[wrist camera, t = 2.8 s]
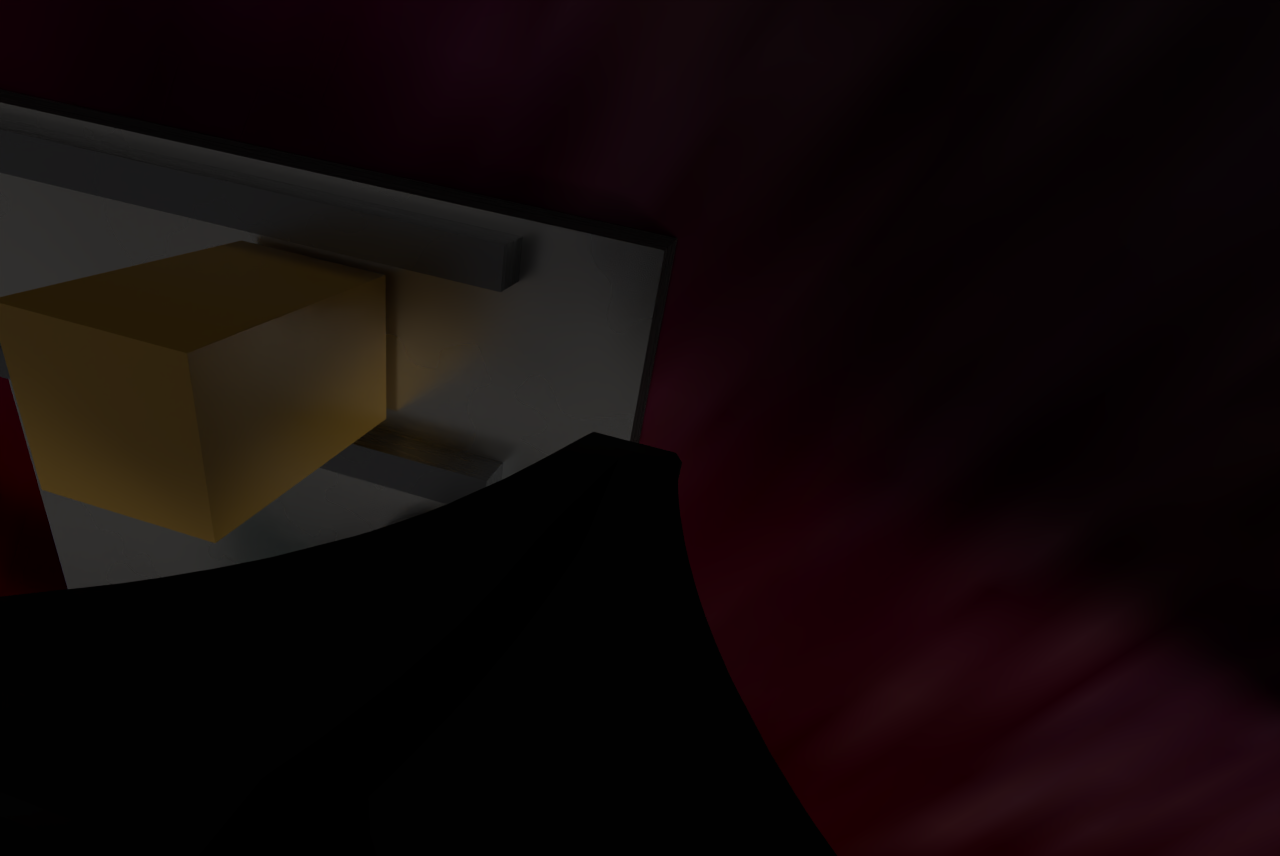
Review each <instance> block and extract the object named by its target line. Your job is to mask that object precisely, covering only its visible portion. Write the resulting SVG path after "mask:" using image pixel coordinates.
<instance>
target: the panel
mask: <svg viewBox="0 0 1280 856" xmlns="http://www.w3.org/2000/svg"><path fill="white" fill-rule="evenodd" d="M677 239H678V238H675V237H670V236H665V235H661V234H656V233H652V232H647V231H643V230H638V229H634V228H629V227H625V226H620V225H615V224H611V223H606V222H602V221H597V220H593V219H588V218H584V217H579V216H574V215H570V214H565V213H561V212H556V211H552V210H547V209H543V208H538V207H534V206H529V205H524V204H520V203H515V202H511V201H506V200H502V199H497V198H493V197H488V196H483V195H479V194H474V193H470V192H465V191H461V190H456V189H452V188H447V187H443V186H438V185H433V184H429V183H424V182H420V181H415V180H411V179H406V178H402V177H397V176H392V175H388V174H383V173H379V172H374V171H370V170H365V169H361V168H356V167H352V166H347V165H342V164H338V163H333V162H329V161H324V160H320V159H315V158H311V157H306V156H301V155H297V154H292V153H288V152H283V151H279V150H274V149H270V148H265V147H261V146H256V145H251V144H247V143H242V142H238V141H233V140H229V139H224V138H220V137H215V136H210V135H206V134H201V133H197V132H192V131H188V130H183V129H179V128H174V127H170V126H165V125H160V124H156V123H151V122H147V121H142V120H138V119H133V118H129V117H124V116H120V115H115V114H110V113H106V112H101V111H97V110H92V109H88V108H83V107H79V106H74V105H69V104H65V103H60V102H56V101H51V100H47V99H42V98H38V97H33V96H29V95H24V94H19V93H15V92H10V91H6V90H1V89H0V297H3V296H7V295H11V294H15V293H20V292H24V291H28V290H32V289H37V288H41V287H45V286H49V285H54V284H58V283H62V282H66V281H71V280H75V279H79V278H83V277H88V276H92V275H96V274H101V273H105V272H109V271H113V270H118V269H122V268H126V267H130V266H135V265H139V264H143V263H147V262H152V261H156V260H160V259H164V258H169V257H173V256H177V255H181V254H186V253H190V252H194V251H198V250H203V249H207V248H211V247H215V246H220V245H224V244H228V243H233V242H237V241H241V240H242V241H246V242H250V243H255V244H259V245H263V246H267V247H271V248H275V249H279V250H284V251H288V252H292V253H296V254H300V255H304V256H308V257H313V258H317V259H321V260H325V261H329V262H333V263H338V264H342V265H346V266H350V267H354V268H358V269H362V270H367V271H371V272H375V273H379V274H383V275H386V419H385V420H384V421H383V422H381V423H380V424H378V425H377V426H376V427H374V428H373V429H372V430H370V431H369V432H367V433H366V434H365V435H363V436H362V437H361V438H359V439H358V440H356V441H355V442H354V443H352V444H351V445H350V446H348V447H347V448H345V449H344V450H343V451H341V452H340V453H339V454H337V455H336V456H334V457H333V458H332V459H330V460H329V461H328V462H326V463H325V464H324V465H322V466H321V467H319V468H318V469H317V470H315V471H314V472H313V473H311V474H310V475H308V476H307V477H306V478H304V479H303V480H302V481H300V482H299V483H297V484H296V485H295V486H293V487H292V488H291V489H289V490H288V491H286V492H285V493H284V494H282V495H281V496H280V497H278V498H277V499H275V500H274V501H273V502H271V503H270V504H269V505H267V506H266V507H264V508H263V509H262V510H260V511H259V512H258V513H256V514H255V515H253V516H252V517H251V518H249V519H248V520H247V521H245V522H244V523H242V524H241V525H240V526H238V527H237V528H236V529H234V530H233V531H231V532H230V533H229V534H227V535H226V536H225V537H223V538H222V539H220V540H219V541H218V542H216V543H213V542H210V541H206V540H203V539H200V538H197V537H193V536H190V535H187V534H184V533H180V532H177V531H174V530H171V529H167V528H164V527H161V526H158V525H154V524H151V523H148V522H145V521H142V520H138V519H135V518H132V517H129V516H125V515H122V514H119V513H116V512H112V511H109V510H106V509H103V508H99V507H96V506H93V505H90V504H86V503H83V502H80V501H77V500H74V499H70V498H67V497H64V496H61V495H57V494H54V493H51V492H48V491H44V490H42V489H41V485H40V482H39V478H38V475H37V471H36V468H35V464H34V461H33V457H32V453H31V450H30V446H29V443H28V439H27V436H26V432H25V429H24V425H23V421H22V418H21V414H20V411H19V407H18V404H17V400H16V397H15V393H14V389H13V386H12V382H11V379H10V375H9V372H8V368H7V365H6V361H5V357H4V354H3V350H2V347H1V343H0V377H3V378H7V379H9V383H10V386H11V390H12V393H13V397H14V400H15V404H16V407H17V411H18V414H19V418H20V421H21V425H22V429H23V432H24V436H25V439H26V443H27V446H28V450H29V453H30V457H31V460H32V464H33V467H34V471H35V475H36V478H37V482H38V485H39V489H40V492H41V496H42V499H43V503H44V506H45V510H46V513H47V517H48V520H49V524H50V528H51V531H52V535H53V538H54V542H55V545H56V549H57V552H58V556H59V559H60V563H61V566H62V570H63V574H64V577H65V581H66V584H67V588H68V589H75V588H83V587H92V586H101V585H110V584H119V583H126V582H133V581H140V580H147V579H154V578H161V577H167V576H173V575H179V574H185V573H191V572H197V571H203V570H209V569H214V568H220V567H225V566H230V565H235V564H240V563H245V562H250V561H255V560H260V559H265V558H269V557H274V556H278V555H282V554H286V553H290V552H294V551H298V550H302V549H306V548H310V547H313V546H317V545H321V544H325V543H329V542H333V541H337V540H341V539H345V538H349V537H353V536H356V535H360V534H363V533H366V532H370V531H373V530H376V529H379V528H382V527H385V526H388V525H391V524H394V523H397V522H400V521H403V520H406V519H409V518H412V517H415V516H418V515H420V514H423V513H426V512H428V511H431V510H434V509H436V508H439V507H441V506H444V505H446V504H449V503H451V502H453V501H455V500H458V499H460V498H462V497H464V496H467V495H469V494H471V493H473V492H476V491H478V490H480V489H482V488H485V487H487V486H489V485H491V484H493V483H496V482H498V481H500V480H502V479H505V478H507V477H509V476H511V475H513V474H515V473H516V472H518V471H520V470H522V469H524V468H526V467H528V466H530V465H532V464H534V463H536V462H538V461H540V460H542V459H543V458H545V457H547V456H549V455H551V454H553V453H554V452H556V451H558V450H560V449H562V448H564V447H565V446H567V445H569V444H571V443H573V442H575V441H576V440H578V439H580V438H582V437H584V436H586V435H588V434H590V433H592V432H597V433H601V434H605V435H609V436H612V437H616V438H620V439H624V440H628V441H632V442H635V443H639V439H640V434H641V429H642V423H643V418H644V413H645V407H646V402H647V397H648V392H649V386H650V381H651V376H652V371H653V365H654V360H655V355H656V349H657V344H658V339H659V334H660V328H661V323H662V318H663V312H664V307H665V302H666V297H667V291H668V286H669V281H670V275H671V270H672V265H673V260H674V254H675V249H676V244H677Z"/></svg>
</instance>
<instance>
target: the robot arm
mask: <svg viewBox="0 0 1280 856" xmlns="http://www.w3.org/2000/svg"><path fill="white" fill-rule="evenodd" d="M681 465H682V462H681V460H680V459H679V457H678V455H677V454H676V453H674V452H670V451H666V450H662V449H658V448H654V447H651V446H647V445H643V444H639V443H635V442H632V441H628V440H624V439H620V438H616V437H612V436H609V435H605V434H601V433H597V432H592V433H590V434H588V435H586V436H584V437H582V438H580V439H578V440H576V441H575V442H573V443H571V444H569V445H567V446H565V447H564V448H562V449H560V450H558V451H556V452H554V453H553V454H551V455H549V456H547V457H545V458H543V459H542V460H540V461H538V462H536V463H534V464H532V465H530V466H528V467H526V468H524V469H522V470H520V471H518V472H516V473H515V474H513V475H511V476H509V477H507V478H505V479H502V480H500V481H498V482H496V483H493V484H491V485H489V486H487V487H485V488H482V489H480V490H478V491H476V492H473V493H471V494H469V495H467V496H464V497H462V498H460V499H458V500H455V501H453V502H451V503H449V504H446V505H444V506H441V507H439V508H436V509H434V510H431V511H428V512H426V513H423V514H420V515H418V516H415V517H412V518H409V519H406V520H403V521H400V522H397V523H394V524H391V525H388V526H385V527H382V528H379V529H376V530H373V531H370V532H366V533H363V534H360V535H356V536H353V537H349V538H345V539H341V540H337V541H333V542H329V543H325V544H321V545H317V546H313V547H310V548H306V549H302V550H298V551H294V552H290V553H286V554H282V555H278V556H274V557H269V558H265V559H260V560H255V561H250V562H245V563H240V564H235V565H230V566H225V567H220V568H214V569H209V570H203V571H197V572H191V573H185V574H179V575H173V576H167V577H161V578H154V579H147V580H140V581H133V582H126V583H119V584H110V585H101V586H92V587H83V588H75V589H66V590H57V591H48V592H39V593H31V594H22V595H13V596H3V597H0V856H837V855H836V854H835V852H834V851H833V849H832V848H831V847H830V845H829V844H828V842H827V841H826V840H825V838H824V837H823V835H822V834H821V833H820V831H819V830H818V828H817V827H816V826H815V824H814V822H813V821H812V819H811V818H810V816H809V815H808V813H807V812H806V810H805V809H804V807H803V806H802V804H801V803H800V801H799V799H798V798H797V796H796V795H795V793H794V791H793V790H792V788H791V786H790V785H789V783H788V781H787V780H786V778H785V776H784V775H783V773H782V772H781V770H780V768H779V767H778V765H777V763H776V762H775V760H774V758H773V757H772V755H771V753H770V752H769V750H768V748H767V746H766V744H765V742H764V741H763V739H762V737H761V735H760V733H759V731H758V729H757V727H756V725H755V723H754V722H753V720H752V718H751V716H750V714H749V712H748V710H747V708H746V706H745V704H744V702H743V701H742V699H741V697H740V695H739V693H738V691H737V689H736V687H735V685H734V683H733V682H732V679H731V677H730V675H729V673H728V671H727V668H726V666H725V664H724V661H723V659H722V657H721V654H720V652H719V650H718V647H717V645H716V643H715V640H714V638H713V635H712V632H711V630H710V627H709V625H708V622H707V619H706V617H705V614H704V611H703V608H702V605H701V602H700V599H699V596H698V593H697V589H696V586H695V582H694V579H693V575H692V571H691V568H690V564H689V560H688V556H687V551H686V547H685V542H684V536H683V530H682V524H681V518H680V510H679V499H678V478H679V474H680V469H681Z"/></svg>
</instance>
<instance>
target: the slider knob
mask: <svg viewBox="0 0 1280 856" xmlns="http://www.w3.org/2000/svg"><path fill="white" fill-rule="evenodd" d="M0 343H1V347H2V350H3V354H4V357H5V361H6V365H7V368H8V372H9V375H10V379H11V382H12V386H13V389H14V393H15V397H16V400H17V404H18V407H19V411H20V414H21V418H22V421H23V425H24V429H25V432H26V436H27V439H28V443H29V446H30V450H31V453H32V457H33V461H34V464H35V468H36V471H37V475H38V478H39V482H40V485H41V489H42V490H44V491H48V492H51V493H54V494H57V495H61V496H64V497H67V498H70V499H74V500H77V501H80V502H83V503H86V504H90V505H93V506H96V507H99V508H103V509H106V510H109V511H112V512H116V513H119V514H122V515H125V516H129V517H132V518H135V519H138V520H142V521H145V522H148V523H151V524H154V525H158V526H161V527H164V528H167V529H171V530H174V531H177V532H180V533H184V534H187V535H190V536H193V537H197V538H200V539H203V540H206V541H210V542H213V543H216V542H218V541H219V540H220V539H222V538H223V537H225V536H226V535H227V534H229V533H230V532H231V531H233V530H234V529H236V528H237V527H238V526H240V525H241V524H242V523H244V522H245V521H247V520H248V519H249V518H251V517H252V516H253V515H255V514H256V513H258V512H259V511H260V510H262V509H263V508H264V507H266V506H267V505H269V504H270V503H271V502H273V501H274V500H275V499H277V498H278V497H280V496H281V495H282V494H284V493H285V492H286V491H288V490H289V489H291V488H292V487H293V486H295V485H296V484H297V483H299V482H300V481H302V480H303V479H304V478H306V477H307V476H308V475H310V474H311V473H313V472H314V471H315V470H317V469H318V468H319V467H321V466H322V465H324V464H325V463H326V462H328V461H329V460H330V459H332V458H333V457H334V456H336V455H337V454H339V453H340V452H341V451H343V450H344V449H345V448H347V447H348V446H350V445H351V444H352V443H354V442H355V441H356V440H358V439H359V438H361V437H362V436H363V435H365V434H366V433H367V432H369V431H370V430H372V429H373V428H374V427H376V426H377V425H378V424H380V423H381V422H383V421H384V420H385V419H386V275H383V274H379V273H375V272H371V271H367V270H362V269H358V268H354V267H350V266H346V265H342V264H338V263H333V262H329V261H325V260H321V259H317V258H313V257H308V256H304V255H300V254H296V253H292V252H288V251H284V250H279V249H275V248H271V247H267V246H263V245H259V244H255V243H250V242H246V241H242V240H241V241H237V242H233V243H228V244H224V245H220V246H215V247H211V248H207V249H203V250H198V251H194V252H190V253H186V254H181V255H177V256H173V257H169V258H164V259H160V260H156V261H152V262H147V263H143V264H139V265H135V266H130V267H126V268H122V269H118V270H113V271H109V272H105V273H101V274H96V275H92V276H88V277H83V278H79V279H75V280H71V281H66V282H62V283H58V284H54V285H49V286H45V287H41V288H37V289H32V290H28V291H24V292H20V293H15V294H11V295H7V296H3V297H0Z"/></svg>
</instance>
